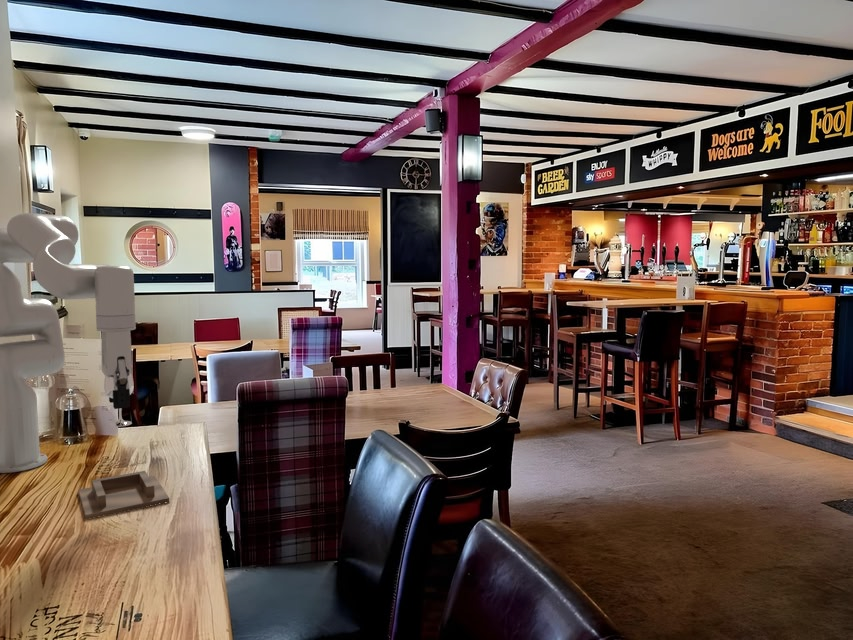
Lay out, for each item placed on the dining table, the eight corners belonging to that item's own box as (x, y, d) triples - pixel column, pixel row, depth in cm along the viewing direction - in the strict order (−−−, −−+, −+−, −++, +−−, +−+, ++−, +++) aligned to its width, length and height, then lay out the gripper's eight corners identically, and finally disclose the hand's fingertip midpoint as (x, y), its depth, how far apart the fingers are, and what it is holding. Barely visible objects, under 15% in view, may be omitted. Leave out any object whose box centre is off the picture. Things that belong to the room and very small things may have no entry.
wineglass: (138, 424, 131) (136, 371, 130) (109, 429, 127) (106, 374, 126) (131, 419, 135) (129, 367, 134) (103, 423, 132) (100, 369, 130)
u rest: (78, 493, 135) (77, 478, 134) (155, 479, 144) (154, 465, 144) (85, 519, 122) (85, 503, 121) (169, 502, 131) (168, 486, 130)
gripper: (91, 320, 134) (95, 399, 136) (101, 328, 120) (105, 415, 122) (128, 318, 138) (131, 395, 140) (142, 326, 124) (145, 410, 126)
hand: (119, 403), depth 131 cm, fingers closed on wineglass, 5 cm apart
